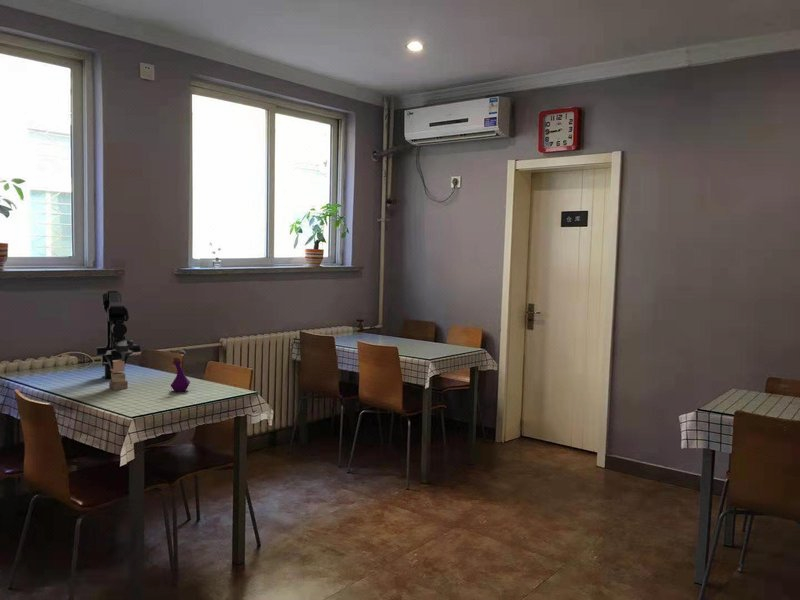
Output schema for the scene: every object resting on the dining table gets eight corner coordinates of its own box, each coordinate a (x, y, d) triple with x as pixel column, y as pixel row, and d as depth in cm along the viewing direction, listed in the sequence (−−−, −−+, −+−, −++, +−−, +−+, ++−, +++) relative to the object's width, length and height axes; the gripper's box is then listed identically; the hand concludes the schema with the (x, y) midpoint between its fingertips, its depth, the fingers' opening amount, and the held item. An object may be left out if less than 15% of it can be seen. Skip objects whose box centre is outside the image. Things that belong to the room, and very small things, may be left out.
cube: (110, 370, 300) (110, 360, 299) (121, 369, 303) (120, 359, 302) (114, 372, 296) (114, 362, 296) (124, 371, 299) (124, 361, 299)
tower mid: (111, 380, 300) (111, 372, 300) (123, 379, 303) (123, 371, 303) (113, 382, 296) (113, 374, 296) (125, 381, 299) (125, 373, 299)
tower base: (109, 388, 300) (109, 380, 299) (120, 387, 304) (120, 379, 304) (115, 390, 296) (115, 382, 296) (127, 388, 301) (127, 380, 300)
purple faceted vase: (170, 392, 293) (170, 351, 292) (172, 389, 300) (172, 349, 299) (188, 392, 294) (188, 351, 293) (190, 389, 302) (190, 349, 301)
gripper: (101, 337, 286) (101, 373, 287) (145, 334, 298) (145, 369, 300) (92, 334, 295) (93, 369, 296) (136, 331, 307) (136, 365, 308)
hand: (117, 368), depth 299 cm, fingers closed on cube, 4 cm apart
